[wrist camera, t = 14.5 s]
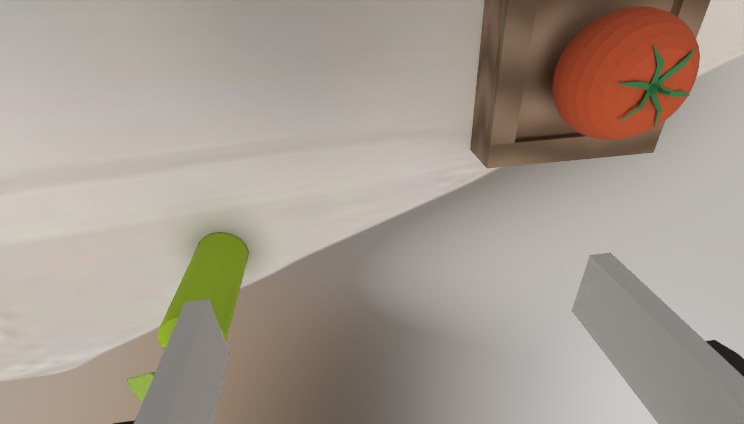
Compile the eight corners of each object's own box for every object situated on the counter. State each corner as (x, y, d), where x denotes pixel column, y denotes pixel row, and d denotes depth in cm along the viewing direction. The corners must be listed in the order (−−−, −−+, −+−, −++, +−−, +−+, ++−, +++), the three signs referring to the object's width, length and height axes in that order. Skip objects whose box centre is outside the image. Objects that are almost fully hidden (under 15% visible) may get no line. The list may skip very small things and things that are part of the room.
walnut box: (489, -44, 33) (514, -48, 28) (681, -54, 34) (732, -59, 30) (470, 149, 42) (487, 168, 38) (620, 135, 44) (653, 152, 39)
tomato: (659, 57, 35) (767, 81, 27) (570, 140, 39) (641, 184, 30) (604, -26, 31) (711, -29, 22) (509, 75, 34) (571, 106, 26)
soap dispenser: (231, 219, 43) (174, 372, 26) (256, 263, 47) (219, 422, 30) (183, 233, 43) (96, 393, 27) (211, 276, 47) (151, 440, 30)
